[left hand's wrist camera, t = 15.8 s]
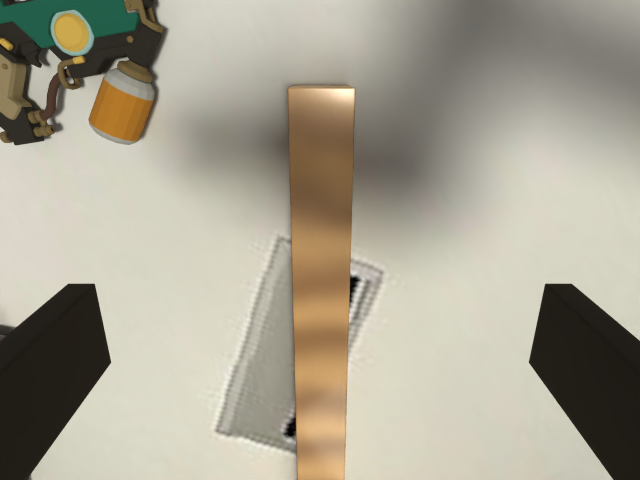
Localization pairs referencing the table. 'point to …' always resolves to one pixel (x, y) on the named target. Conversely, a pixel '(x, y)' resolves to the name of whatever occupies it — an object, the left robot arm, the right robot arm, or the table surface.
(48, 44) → the spray gun
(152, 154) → the table surface
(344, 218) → the bar
